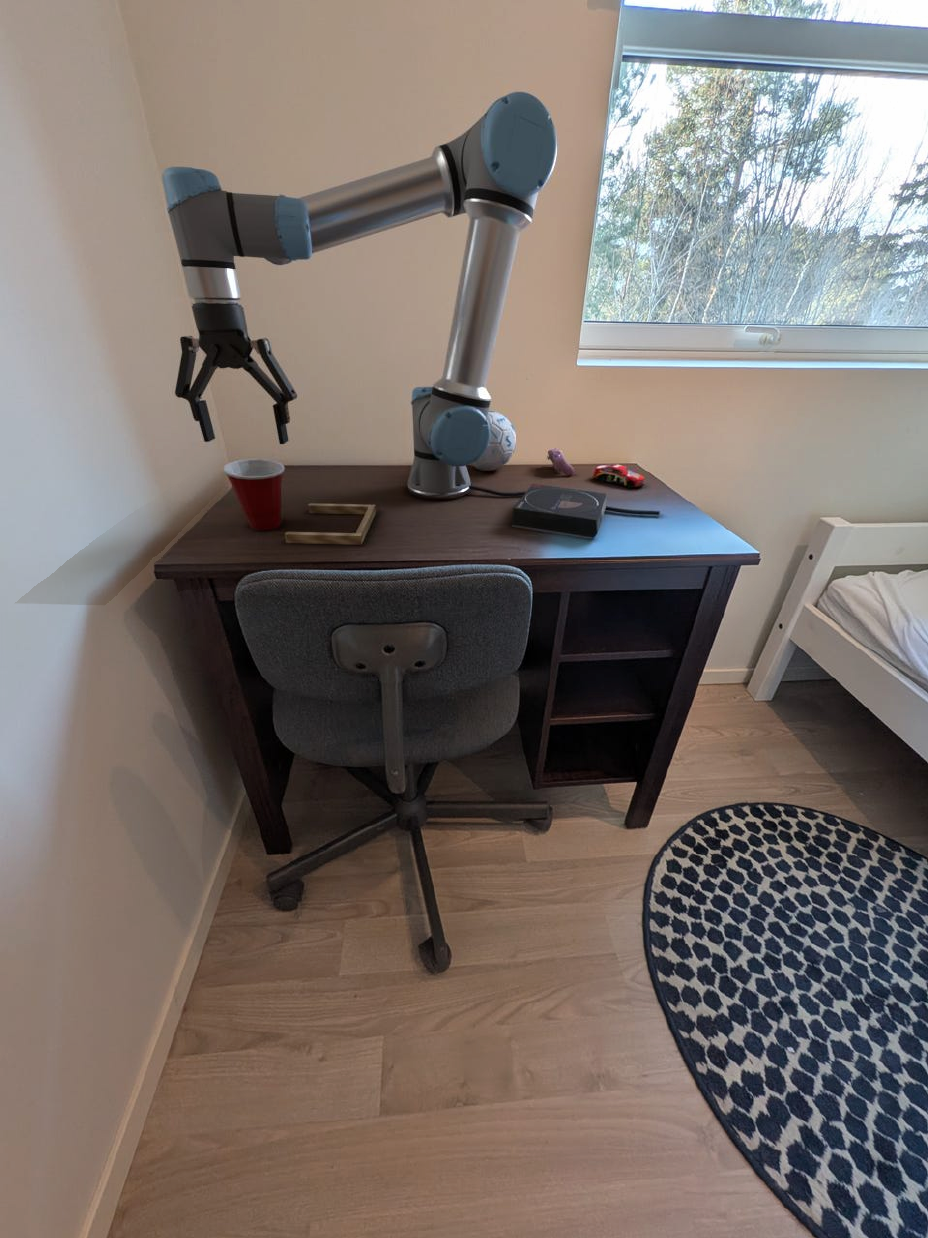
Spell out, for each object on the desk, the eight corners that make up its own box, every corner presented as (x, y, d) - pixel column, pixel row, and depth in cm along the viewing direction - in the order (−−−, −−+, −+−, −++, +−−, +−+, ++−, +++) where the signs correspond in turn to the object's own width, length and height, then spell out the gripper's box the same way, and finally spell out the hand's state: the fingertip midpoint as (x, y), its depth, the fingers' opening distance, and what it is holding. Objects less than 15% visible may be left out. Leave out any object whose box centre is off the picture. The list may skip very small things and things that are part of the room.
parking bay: (376, 512, 103) (375, 504, 102) (361, 544, 89) (360, 535, 88) (310, 511, 103) (309, 503, 102) (286, 543, 89) (284, 534, 88)
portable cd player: (596, 539, 93) (599, 520, 91) (511, 526, 98) (513, 507, 96) (605, 511, 106) (608, 493, 104) (530, 500, 111) (532, 483, 109)
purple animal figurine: (551, 471, 136) (542, 448, 132) (566, 463, 135) (558, 440, 131) (560, 482, 128) (551, 458, 124) (576, 474, 127) (567, 450, 123)
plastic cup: (278, 538, 91) (264, 476, 84) (227, 533, 93) (209, 471, 86) (304, 517, 100) (294, 459, 93) (257, 513, 101) (244, 455, 95)
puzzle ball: (511, 479, 124) (515, 418, 116) (454, 475, 126) (454, 414, 118) (516, 463, 136) (520, 407, 128) (464, 460, 138) (465, 404, 130)
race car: (647, 485, 122) (650, 470, 120) (638, 490, 118) (641, 474, 116) (600, 474, 129) (602, 459, 127) (590, 479, 125) (593, 463, 123)
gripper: (302, 304, 78) (320, 438, 90) (151, 299, 78) (189, 434, 90) (287, 304, 72) (309, 448, 84) (123, 299, 72) (168, 444, 84)
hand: (247, 441), depth 87 cm, fingers open, 13 cm apart
